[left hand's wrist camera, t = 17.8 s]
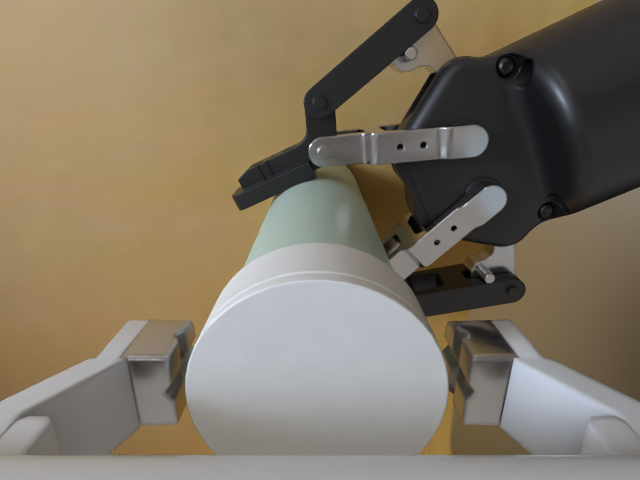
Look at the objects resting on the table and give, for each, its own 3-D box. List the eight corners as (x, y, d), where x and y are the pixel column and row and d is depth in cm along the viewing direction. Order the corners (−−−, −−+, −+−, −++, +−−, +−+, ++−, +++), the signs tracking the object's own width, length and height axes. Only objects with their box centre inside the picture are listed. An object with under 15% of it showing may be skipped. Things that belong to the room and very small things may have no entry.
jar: (374, 195, 24) (472, 379, 9) (317, 246, 26) (314, 489, 10) (320, 137, 23) (320, 228, 8) (263, 193, 24) (160, 374, 9)
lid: (181, 264, 9) (146, 308, 7) (411, 221, 9) (435, 255, 7) (242, 437, 11) (226, 508, 9) (434, 407, 11) (459, 474, 9)
